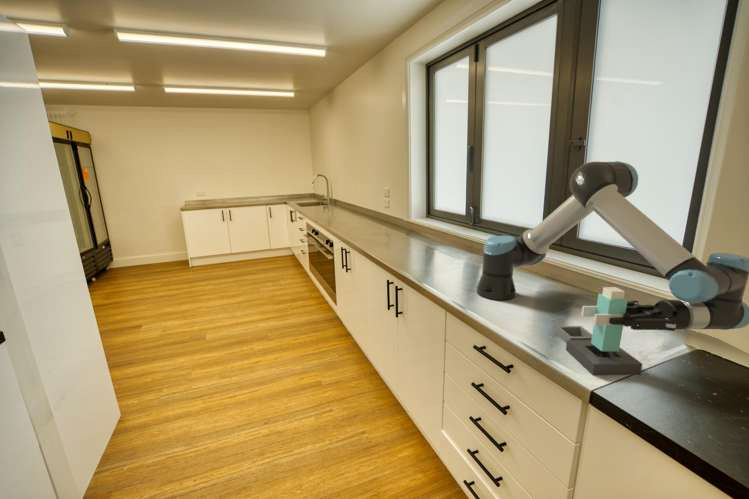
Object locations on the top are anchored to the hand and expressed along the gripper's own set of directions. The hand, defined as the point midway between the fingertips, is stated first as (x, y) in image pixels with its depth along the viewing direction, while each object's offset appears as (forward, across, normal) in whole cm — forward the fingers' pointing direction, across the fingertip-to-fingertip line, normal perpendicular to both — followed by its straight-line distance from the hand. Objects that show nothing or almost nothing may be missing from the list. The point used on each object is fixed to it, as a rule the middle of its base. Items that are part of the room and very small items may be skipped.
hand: (589, 315), depth 88 cm
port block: (-5, 0, -13) cm, 14 cm away
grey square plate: (-5, +12, -13) cm, 19 cm away
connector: (-5, 0, -9) cm, 10 cm away
